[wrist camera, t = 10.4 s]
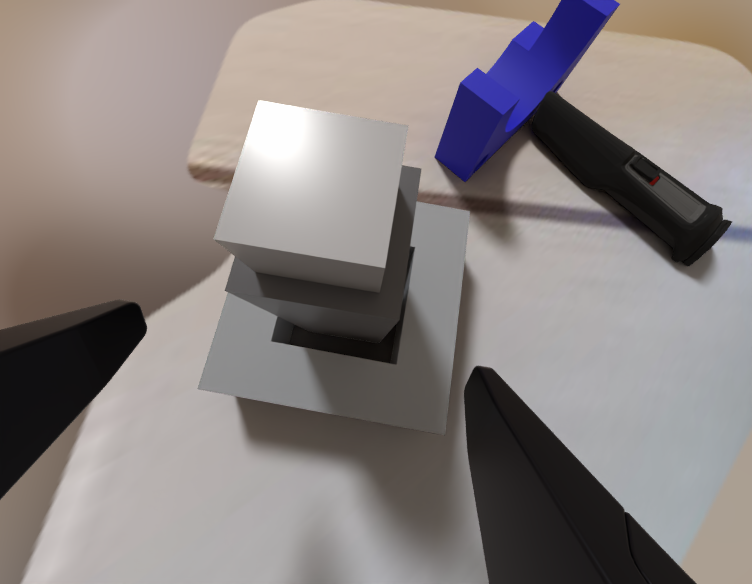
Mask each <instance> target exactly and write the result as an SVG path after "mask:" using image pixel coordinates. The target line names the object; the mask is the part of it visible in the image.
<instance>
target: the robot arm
mask: <svg viewBox="0 0 752 584" xmlns="http://www.w3.org/2000/svg"><path fill="white" fill-rule="evenodd" d="M146 332H147V325H146V322H145V319H144V316H143V313H142V310H141V307H140V306H139V304H137V303H136V302H132V301H127V300H115V301H111V302H107V303H103V304H99V305H95V306H91V307H87V308H84V309H80V310H76V311H72V312H68V313H65V314H60V315H56V316H52V317H49V318H45V319H41V320H37V321H33V322H29V323H25V324H21V325H17V326H14V327H10V328H6V329H2V330H0V500H1V498H2V497H3V496H4V495H5V494H6V493H7V492H8V491H9V490H10V489H11V487H13V485H14V484H15V483H16V482H17V481H18V480H19V479H20V478H21V477H22V476H23V475H24V474H25V472H26V471H27V470H28V469H29V468H30V467H31V466H32V465H33V464H34V463H35V462H36V461H37V460H38V458H39V457H40V456H41V455H42V454H43V453H44V452H45V451H46V450H47V449H48V448H49V446H51V444H52V443H53V442H54V441H55V440H56V439H57V438H58V437H59V436H60V435H61V434H62V433H63V432H64V430H65V429H66V428H67V427H68V426H69V425H70V424H71V423H72V422H73V421H74V420H75V419H76V418H77V416H78V415H79V414H80V413H81V412H82V411H83V410H84V409H85V408H86V407H87V406H88V405H89V403H90V402H91V401H92V400H93V399H94V398H95V397H96V396H97V395H98V394H99V393H100V392H101V390H102V389H103V388H104V387H105V386H106V385H107V383H108V382H109V381H110V380H111V379H112V377H113V376H114V375H115V373H116V372H117V371H118V370H119V368H120V367H121V366H122V364H123V363H124V362H125V361H126V359H127V358H128V357H129V355H130V354H131V353H132V352H133V350H134V349H135V348H136V346H137V345H138V344H139V342H140V341H141V340H142V339H143V337H144V336H145V334H146ZM464 403H465V420H466V437H467V451H468V459H469V465H470V471H471V477H472V483H473V489H474V495H475V501H476V507H477V513H478V519H479V525H480V531H481V537H482V543H483V549H484V555H485V561H486V567H487V573H488V579H489V584H696V583H695V582H694V581H693V580H692V579H691V578H690V577H689V576H688V575H687V574H686V573H685V572H684V570H683V569H682V568H681V567H680V566H679V565H678V564H677V563H676V562H675V561H674V560H673V559H672V558H671V557H670V556H669V555H668V554H667V553H666V552H665V551H664V550H663V549H662V548H661V547H660V546H659V545H658V544H657V543H656V541H655V540H654V539H653V538H652V537H651V536H650V535H649V534H648V533H647V532H646V531H645V530H644V529H643V528H642V527H641V526H640V525H639V524H638V522H637V521H636V520H635V519H634V518H633V517H632V516H631V515H630V514H629V513H627V512H625V511H624V508H623V507H622V506H621V505H620V504H619V502H618V501H617V500H616V499H615V498H614V497H613V496H612V495H611V494H610V493H609V492H608V491H607V490H606V489H605V488H604V487H603V485H602V484H601V483H600V482H599V481H598V480H597V479H596V478H595V477H594V476H593V475H592V474H591V473H590V472H589V471H588V470H587V468H586V467H585V466H584V465H583V464H582V463H581V462H580V461H579V460H578V459H577V458H576V457H575V456H574V455H573V454H572V453H571V451H570V450H569V449H568V448H567V447H566V446H565V445H564V444H563V443H562V442H561V441H560V440H559V439H558V438H557V437H556V436H555V434H554V433H553V432H552V431H551V430H550V429H549V428H548V427H547V426H546V425H545V424H544V423H543V422H542V421H541V420H540V418H539V417H538V416H537V415H536V414H535V413H534V412H533V411H532V410H531V409H530V408H529V407H528V406H527V405H526V404H525V403H524V401H523V400H522V399H521V398H520V397H519V396H518V395H517V394H516V393H515V392H514V391H513V390H512V389H511V388H510V387H509V386H508V384H507V383H506V382H505V381H504V380H503V379H502V378H501V377H500V376H499V375H498V374H497V373H496V372H495V371H494V370H493V369H492V368H489V367H483V366H476V367H475V368H474V369H473V371H472V373H471V375H470V377H469V379H468V382H467V384H466V386H465V390H464Z"/></svg>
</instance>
